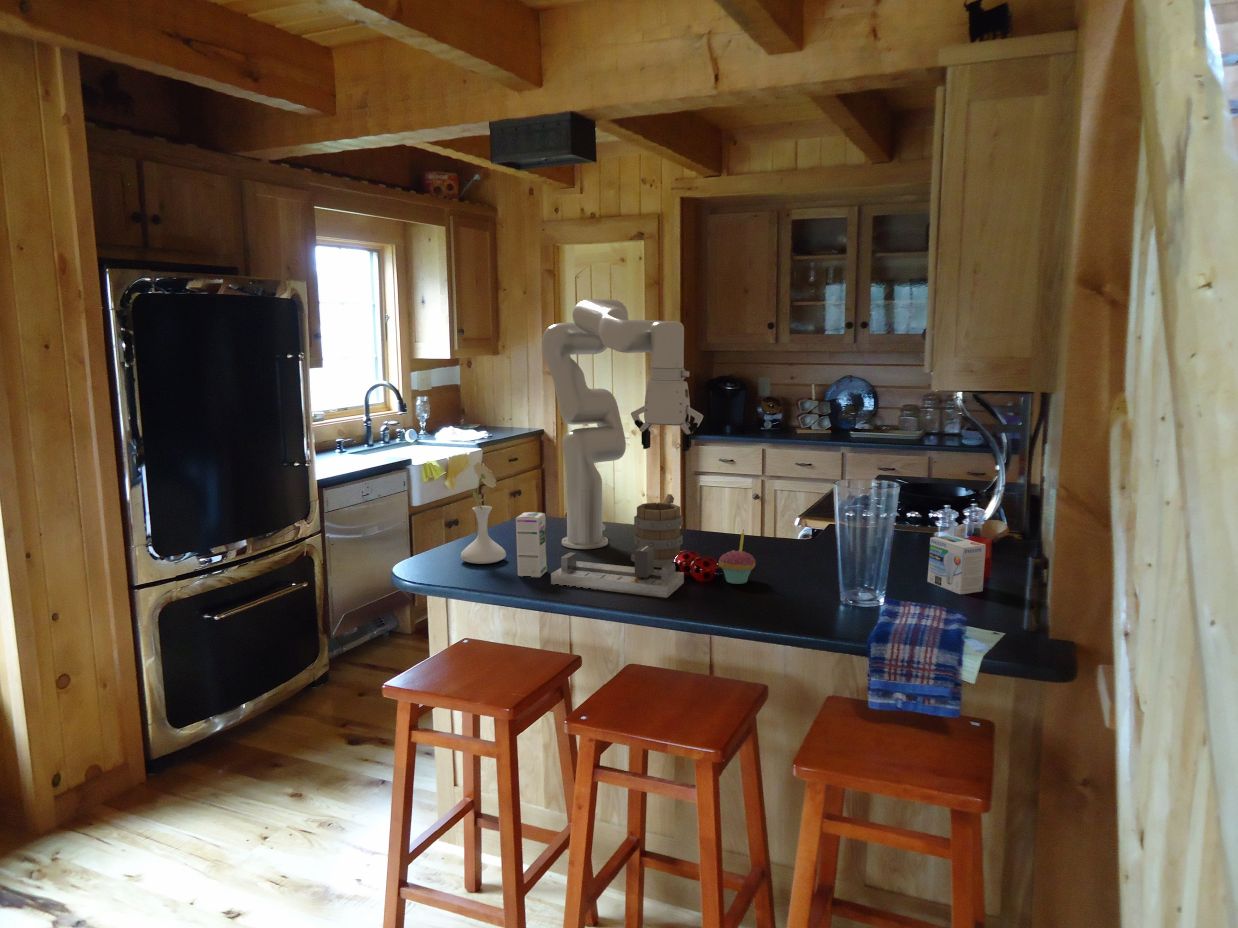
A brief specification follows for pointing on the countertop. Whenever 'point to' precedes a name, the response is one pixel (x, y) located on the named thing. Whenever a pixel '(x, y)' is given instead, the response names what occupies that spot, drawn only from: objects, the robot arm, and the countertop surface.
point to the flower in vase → (483, 526)
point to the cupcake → (737, 564)
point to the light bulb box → (956, 564)
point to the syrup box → (531, 544)
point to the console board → (616, 577)
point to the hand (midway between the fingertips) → (666, 449)
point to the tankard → (659, 530)
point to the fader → (644, 561)
